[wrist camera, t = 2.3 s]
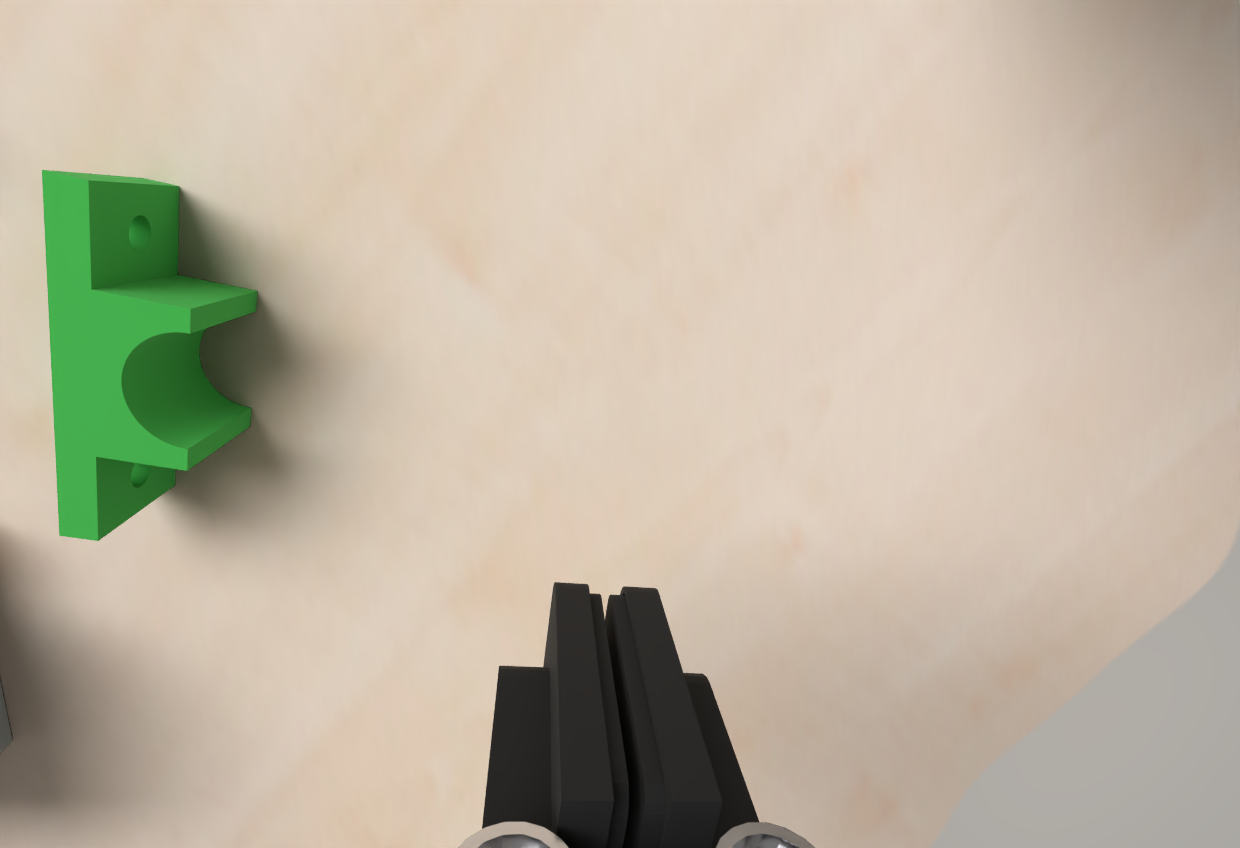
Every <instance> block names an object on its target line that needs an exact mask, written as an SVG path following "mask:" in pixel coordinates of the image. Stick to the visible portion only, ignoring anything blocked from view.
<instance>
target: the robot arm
mask: <svg viewBox="0 0 1240 848" xmlns="http://www.w3.org/2000/svg"><path fill="white" fill-rule="evenodd" d="M459 848H815V847H814V846H813V845H811V844H810V843H809V842H808V841H807V840H806V839H804V838H803V837H801V836H799V835H797V834H796V833H794V832H792V831H790V830H788V829H787V828H784V827H781V826H777V825H774V824H770V823H767V822H759V820H758V817H757V814H756V811H755V809H754V806H753V803H752V800H751V797H750V795H749V792H748V789H747V786H746V783H745V781H744V778H743V775H742V772H741V769H740V767H739V764H738V761H737V758H736V755H735V753H734V750H733V747H732V744H731V741H730V739H729V736H728V733H727V730H726V727H725V725H724V722H723V719H722V716H721V713H720V711H719V708H718V705H717V702H716V699H715V697H714V694H713V691H712V688H711V685H710V683H709V681H708V679H707V677H706V676H705V675H704V674H695V673H683V671H682V667H681V664H680V661H679V658H678V654H677V651H676V648H675V644H674V641H673V638H672V635H671V631H670V628H669V625H668V622H667V618H666V615H665V612H664V609H663V605H662V602H661V599H660V595H659V592H658V590H657V589H656V588H641V587H623V588H622V590H621V594H620V595H610V596H609V599H608V604H607V611H606V617H605V619H604V612H603V605H602V599H601V595H600V594H590V593H589V586H588V584H574V583H558V582H555V583H554V587H553V593H552V601H551V609H550V617H549V626H548V634H547V642H546V650H545V658H544V666H543V667H518V666H499V673H498V682H497V692H496V702H495V711H494V721H493V730H492V740H491V749H490V759H489V768H488V778H487V787H486V797H485V806H484V816H483V825H482V830H480V831H478V832H477V833H475V834H474V835H472V836H470V837H469V838H467V839H466V840H465V841H464V842H463V843H462V844H461V845H460V846H459Z"/></svg>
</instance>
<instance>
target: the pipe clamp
mask: <svg viewBox="0 0 1240 848" xmlns="http://www.w3.org/2000/svg"><path fill="white" fill-rule="evenodd" d="M42 180H43V201H44V222H45V243H46V264H47V284H48V305H49V326H50V347H51V368H52V389H53V409H54V430H55V451H56V472H57V493H58V513H59V534H60V536H66V537H74V538H81V539H88V540H96V541H99V540H100V539H101V538H103V537H104V536H106V535H107V534H108V533H110V532H111V531H112V530H114V529H115V528H117V527H118V526H119V525H121V524H122V523H124V522H125V521H126V520H128V519H129V518H130V517H132V516H133V515H135V514H136V513H137V512H139V511H140V510H141V509H143V508H144V507H146V506H147V505H148V504H150V503H151V502H153V501H154V500H155V499H157V498H158V497H159V496H161V495H162V494H164V493H165V492H166V491H168V490H169V489H171V488H172V487H173V486H175V469H178V470H185V471H188V470H189V469H191V468H192V467H193V466H195V465H196V464H198V463H199V462H201V461H202V460H203V459H205V458H206V457H208V456H209V455H210V454H212V453H213V452H215V451H216V450H217V449H219V448H220V447H222V446H223V445H225V444H226V443H227V442H229V441H230V440H232V439H233V438H234V437H236V436H237V435H239V434H240V433H241V432H243V431H244V430H246V429H247V428H249V427H250V423H251V408H249V407H245V406H242V405H239V404H237V403H234V402H232V401H230V400H229V399H227V398H226V397H224V396H223V395H222V394H220V393H219V392H218V391H217V390H216V389H215V388H214V387H213V386H212V385H211V383H210V382H209V380H208V379H207V377H206V376H205V374H204V371H203V369H202V366H201V362H200V356H199V347H200V342H201V338H202V336H203V333H204V332H205V330H206V328H208V327H211V326H214V325H217V324H220V323H223V322H226V321H229V320H232V319H235V318H238V317H241V316H244V315H247V314H250V313H253V312H256V307H257V291H255V290H250V289H245V288H240V287H235V286H230V285H226V284H221V283H216V282H211V281H206V280H201V279H196V278H191V277H186V276H181V275H178V236H179V186H176V185H171V184H167V183H162V182H158V181H153V180H149V179H144V178H135V177H122V176H110V175H98V174H85V173H73V172H61V171H48V170H42Z"/></svg>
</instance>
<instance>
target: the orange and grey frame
mask: <svg viewBox="0 0 1240 848" xmlns="http://www.w3.org/2000/svg"><path fill="white" fill-rule="evenodd" d="M12 741H13V740H12V735H11V730H10V725H9V721H8V716H7V711H6V706H5V701H4V696H3V691H2V687H1V682H0V753H1V752H2V751H3V750H4V749H5V748H6V747H7V746H8V745H9V744H10V743H11V742H12Z"/></svg>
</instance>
